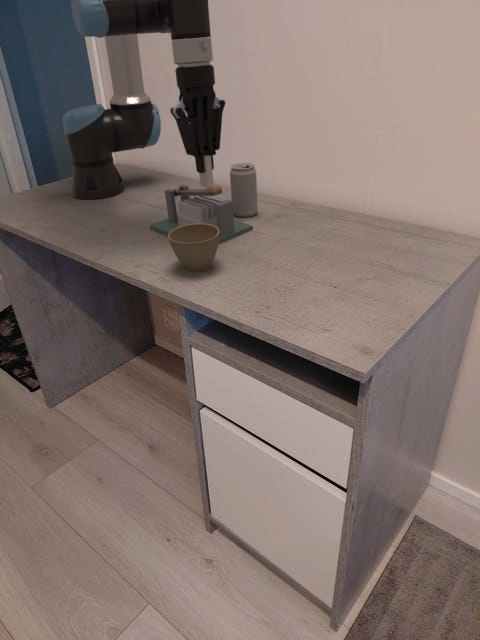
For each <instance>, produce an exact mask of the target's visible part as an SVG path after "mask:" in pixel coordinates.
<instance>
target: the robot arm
mask: <svg viewBox="0 0 480 640" xmlns="http://www.w3.org/2000/svg"><path fill="white" fill-rule="evenodd" d="M70 8H71V13H72V18H73V21H74V24H75V26H76V27H75V28H76V30H77V31H78V33H79V34H80V35H81V36H82V37H85V38H88V37H89V38H91V37H93V38H99V39H100V38H104V41H105V47H106V54H107V60H108V65H109V73H110V79H111V84H112V91H113V92H112V96H111V98H110V99H109V100H108V101H109V106H110V108H107V109H106V108H105V107H104V105H102V104H98V103H97V104H91V105H84V106H79V107H77V108H73V109H71V110H69V111H67V112H66V113H64V114H63V116H62V124H63V125H62V126H63V130H64V131H63V132H64V135H65V137H66V138H65V139H66V142H67V147H68V151H69V154H70V155H69V156H70V158H71V159H70V160H71V163H72V169H73V171H72V180H71V184H72V185H71V190H72V194H73V196H74V198H77V199H81V200H97V199H98V200H99V199H104V198H109V197H110V198H111V197H114V196H116V195H119V194H121V193H123V192H124V191H125V188H126V187H125V182H124V179H123V177H122V176H121V173H120V172H119V170H118V168H117V166H116V164H115V161H114V155H113V154H114V153H118V152H125V151H131V150H138V149H145V148H148V147H152V146H155V145H156V144H157V143H158V141H159V140H160V137H161V132H162V131H161V130H162V129H161V128H162V126H161V125H162V121H161V115H160V110H159V108H158V106H157V105H156V104H155V103H153V102H152V99H151V97H150V96H149V94H147V93H146V92H145V86H144V80H143V78H144V77H143V71H142V62H141V54H140V46H139V38H138V37H139V36H138V35H141V34H142V35H144V34H159V33H160V34H170V39H171V46H172V56H173V57H172V58H173V64H175V65H177V67H176V68H175V70H174V72H175V80H176V87H177V88H178V91H179V97H178V103H177V104H176V106H175V107H171V108H170V110H169V111H170V112H169V113H171V115H172V117H173V118H174V119H175V122H176V125H177V128H178V132H179V134H180V137H181V138H180V139H181V141H182V144H183V146H184V147H183V148H184V150H185V151H184V152H185V153H186V155H187V156H192V157H194V159H195V169H196V172H197V173H198V174H199V185H200V187H201V188H205V189H207V188H211V187H215V184H214V176H213V171H214V169H215V165H214V156H216V155H217V151H219V150H220V148H221V140H222V139H221V137H222V123H223V114H224V113H223V112H224V109H225V106H226V101H225V100H224V99H219V98H218V96H216V95H217V94H216V91H215V90H214V86H215V84H216V78H215V76H216V75H215V67H214V66H213V64H211V62H212V61H213V60H214V56H213V45H212V36H211V26H210V25H211V23H210V22H211V20H210V10H209V0H70Z"/></svg>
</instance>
